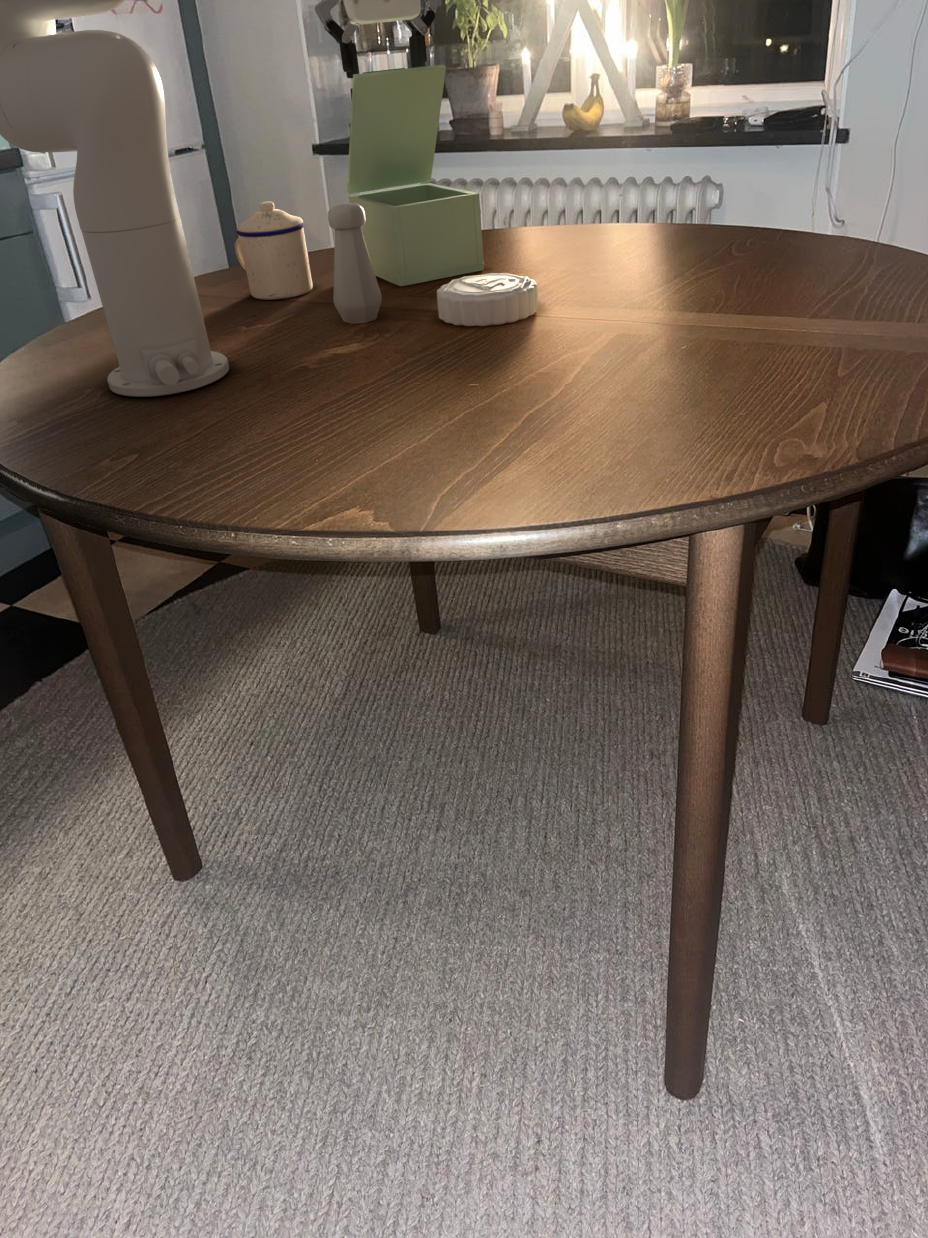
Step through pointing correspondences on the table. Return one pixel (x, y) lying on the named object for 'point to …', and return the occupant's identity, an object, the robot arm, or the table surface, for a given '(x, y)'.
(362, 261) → the salt shaker
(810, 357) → the table surface
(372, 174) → the green lid with handle
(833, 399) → the table surface
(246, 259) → the teacup with lid
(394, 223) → the green rectangular box
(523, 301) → the mooncake
